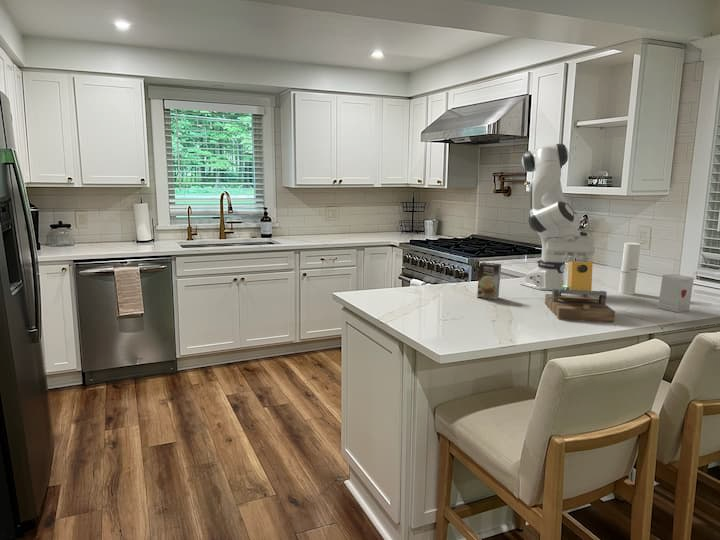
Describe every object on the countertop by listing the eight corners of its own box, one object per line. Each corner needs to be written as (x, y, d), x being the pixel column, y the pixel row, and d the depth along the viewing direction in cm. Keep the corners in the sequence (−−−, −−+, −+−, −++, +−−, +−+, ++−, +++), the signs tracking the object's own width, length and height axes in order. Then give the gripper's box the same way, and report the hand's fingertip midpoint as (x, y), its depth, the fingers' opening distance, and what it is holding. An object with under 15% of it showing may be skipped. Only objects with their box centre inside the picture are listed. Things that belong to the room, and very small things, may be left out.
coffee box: (476, 297, 246) (478, 263, 244) (479, 295, 252) (481, 261, 249) (496, 300, 243) (498, 265, 240) (499, 297, 248) (501, 263, 246)
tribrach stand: (544, 303, 238) (546, 283, 236) (593, 306, 235) (596, 285, 234) (558, 319, 213) (560, 296, 211) (613, 322, 210) (616, 298, 208)
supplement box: (677, 312, 228) (681, 278, 226) (657, 307, 236) (661, 274, 234) (689, 310, 233) (694, 277, 230) (670, 306, 240) (674, 273, 238)
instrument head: (553, 292, 233) (555, 262, 233) (592, 294, 231) (593, 263, 231) (564, 293, 215) (566, 259, 215) (606, 295, 213) (607, 261, 213)
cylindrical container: (636, 295, 261) (642, 244, 257) (620, 294, 262) (626, 244, 258) (632, 292, 268) (638, 242, 264) (616, 291, 269) (622, 242, 265)
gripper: (545, 232, 239) (547, 256, 231) (593, 233, 235) (597, 258, 227) (542, 241, 244) (545, 265, 236) (590, 242, 240) (593, 267, 232)
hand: (571, 262), depth 232 cm, fingers closed
